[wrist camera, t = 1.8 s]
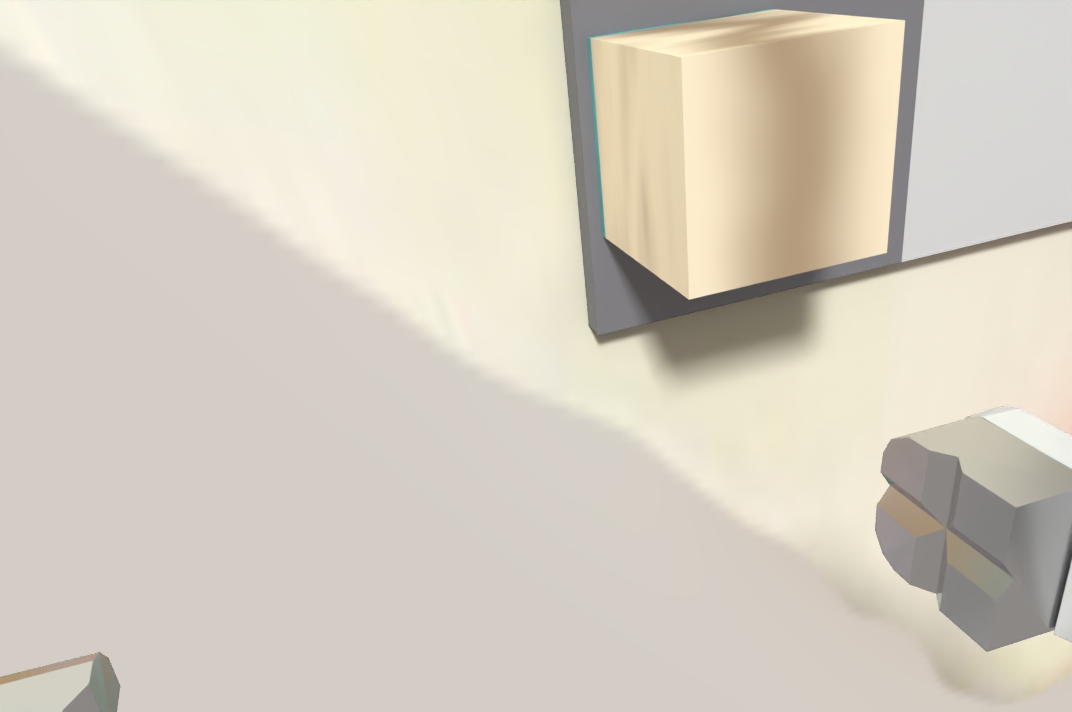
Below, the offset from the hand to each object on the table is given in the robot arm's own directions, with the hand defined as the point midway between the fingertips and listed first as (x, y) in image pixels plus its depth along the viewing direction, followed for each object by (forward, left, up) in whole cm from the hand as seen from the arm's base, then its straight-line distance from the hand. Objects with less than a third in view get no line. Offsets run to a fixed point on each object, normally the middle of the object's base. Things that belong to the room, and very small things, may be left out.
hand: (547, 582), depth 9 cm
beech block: (-13, +1, -22) cm, 25 cm away
